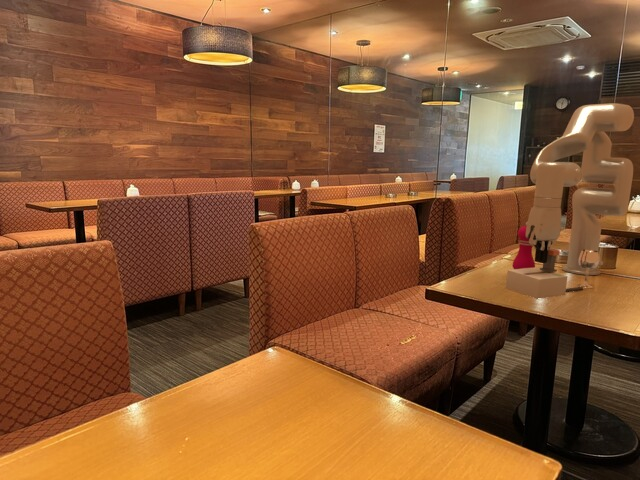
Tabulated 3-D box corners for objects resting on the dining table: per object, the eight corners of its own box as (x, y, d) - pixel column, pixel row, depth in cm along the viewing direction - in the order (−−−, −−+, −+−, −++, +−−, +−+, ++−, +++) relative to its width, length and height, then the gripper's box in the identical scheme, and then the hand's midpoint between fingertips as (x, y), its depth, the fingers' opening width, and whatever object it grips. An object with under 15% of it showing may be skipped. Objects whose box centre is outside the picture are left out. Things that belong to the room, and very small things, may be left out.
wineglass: (575, 286, 148) (580, 251, 146) (575, 282, 153) (579, 248, 151) (595, 289, 145) (600, 253, 143) (594, 285, 150) (599, 250, 148)
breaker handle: (545, 268, 145) (548, 247, 143) (557, 271, 141) (560, 250, 139) (538, 269, 143) (541, 248, 142) (550, 272, 139) (553, 251, 138)
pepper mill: (529, 275, 161) (535, 220, 157) (536, 281, 154) (543, 223, 150) (508, 274, 162) (514, 219, 158) (515, 280, 155) (521, 222, 151)
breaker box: (554, 282, 153) (556, 265, 152) (587, 292, 142) (589, 273, 141) (505, 288, 144) (507, 269, 143) (537, 299, 133) (539, 279, 132)
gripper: (553, 201, 143) (547, 258, 146) (519, 202, 137) (513, 261, 140) (575, 204, 136) (567, 263, 139) (540, 205, 130) (533, 266, 133)
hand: (540, 261), depth 140 cm, fingers closed
